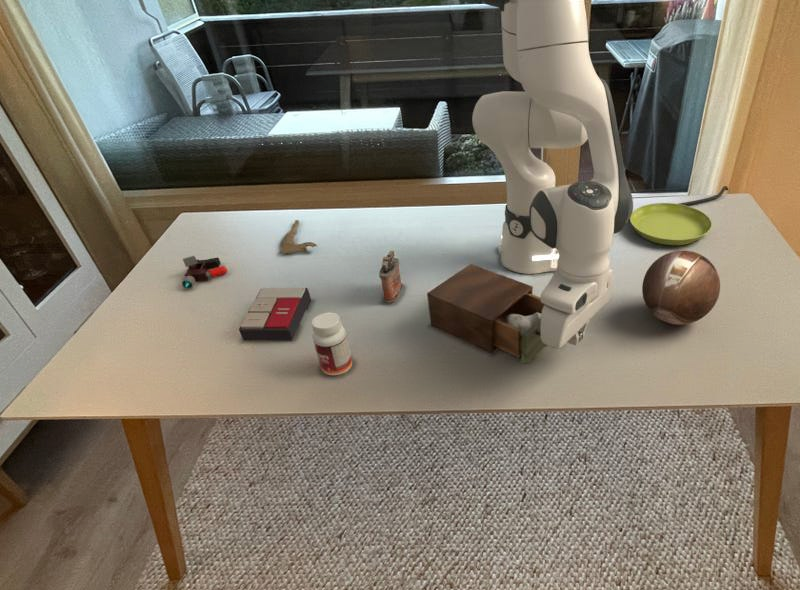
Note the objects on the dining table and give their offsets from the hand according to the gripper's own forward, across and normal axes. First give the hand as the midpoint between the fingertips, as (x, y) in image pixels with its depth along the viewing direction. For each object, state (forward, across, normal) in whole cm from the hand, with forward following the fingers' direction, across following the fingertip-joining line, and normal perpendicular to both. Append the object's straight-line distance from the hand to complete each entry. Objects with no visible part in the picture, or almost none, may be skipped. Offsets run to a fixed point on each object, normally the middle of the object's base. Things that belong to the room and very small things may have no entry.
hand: (576, 340), depth 108 cm
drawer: (+4, 0, -11) cm, 12 cm away
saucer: (+6, -61, -7) cm, 61 cm away
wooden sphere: (+6, -25, +10) cm, 27 cm away
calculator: (+6, +25, -60) cm, 66 cm away
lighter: (+6, +3, -46) cm, 47 cm away
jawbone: (+6, -3, -86) cm, 87 cm away
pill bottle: (+5, +28, -38) cm, 47 cm away
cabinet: (+5, 0, -23) cm, 23 cm away
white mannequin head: (+4, 0, -12) cm, 13 cm away
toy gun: (+6, +24, -90) cm, 94 cm away
